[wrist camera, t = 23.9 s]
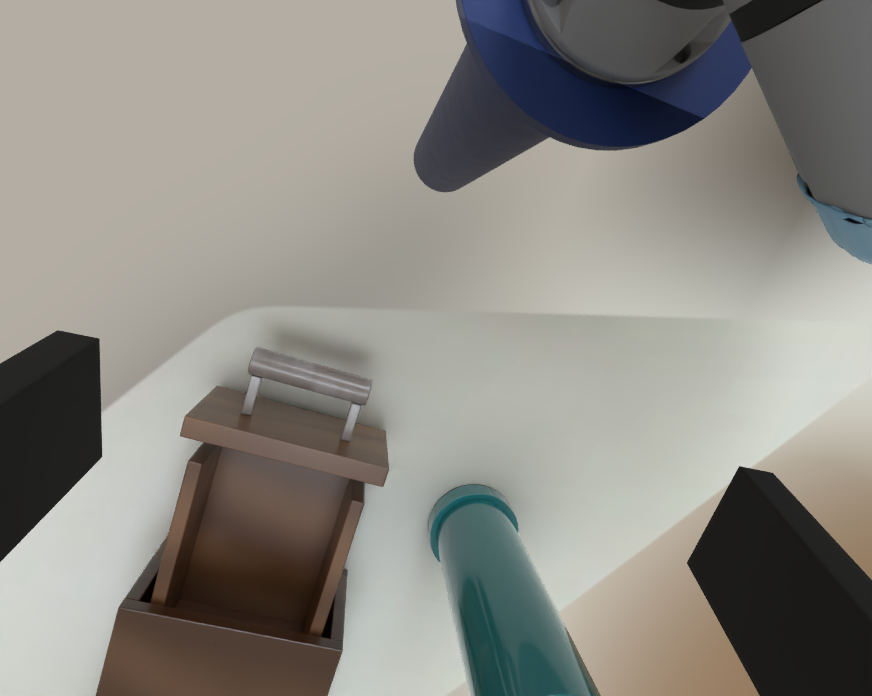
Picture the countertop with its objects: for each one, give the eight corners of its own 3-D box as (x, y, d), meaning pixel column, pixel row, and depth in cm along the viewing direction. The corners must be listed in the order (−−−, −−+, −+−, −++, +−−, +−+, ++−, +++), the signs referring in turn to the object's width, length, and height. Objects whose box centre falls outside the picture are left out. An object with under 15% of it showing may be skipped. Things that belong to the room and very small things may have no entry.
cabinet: (170, 530, 38) (118, 607, 30) (347, 569, 40) (342, 650, 32) (116, 731, 40) (54, 851, 32) (286, 757, 42) (267, 876, 34)
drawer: (232, 326, 35) (203, 345, 28) (403, 376, 37) (410, 403, 30) (160, 594, 37) (119, 663, 31) (322, 627, 39) (314, 698, 33)
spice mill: (443, 474, 39) (515, 698, 20) (524, 495, 40) (666, 726, 21) (416, 553, 40) (460, 838, 21) (496, 571, 41) (608, 858, 22)
